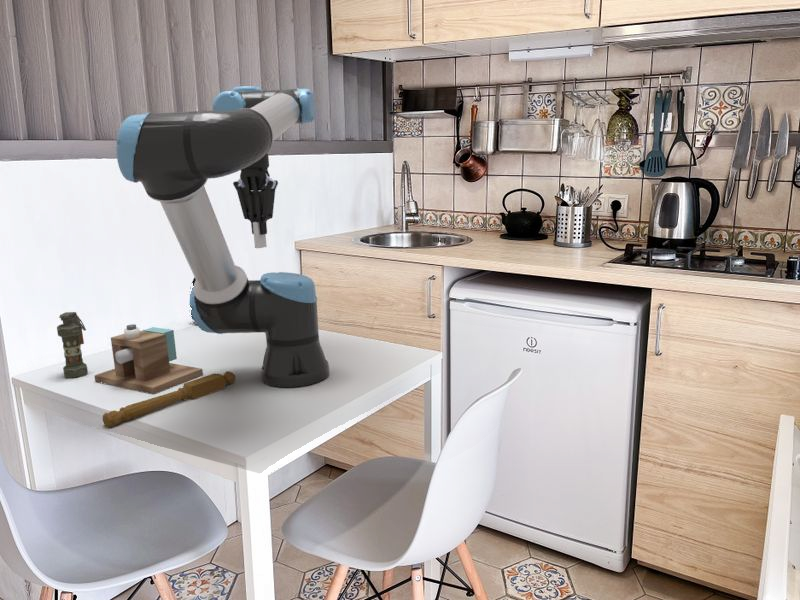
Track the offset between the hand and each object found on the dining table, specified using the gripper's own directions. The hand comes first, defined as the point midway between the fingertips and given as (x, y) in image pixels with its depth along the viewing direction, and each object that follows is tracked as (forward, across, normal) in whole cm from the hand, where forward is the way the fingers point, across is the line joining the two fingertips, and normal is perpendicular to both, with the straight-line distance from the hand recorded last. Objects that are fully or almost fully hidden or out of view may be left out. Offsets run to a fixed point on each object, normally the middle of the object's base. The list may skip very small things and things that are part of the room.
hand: (260, 247), depth 171 cm
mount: (+26, +9, +31) cm, 42 cm away
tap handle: (+27, -9, +39) cm, 49 cm away
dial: (+16, +9, +34) cm, 39 cm away
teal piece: (+23, +9, +32) cm, 40 cm away
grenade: (+27, +28, +36) cm, 53 cm away
